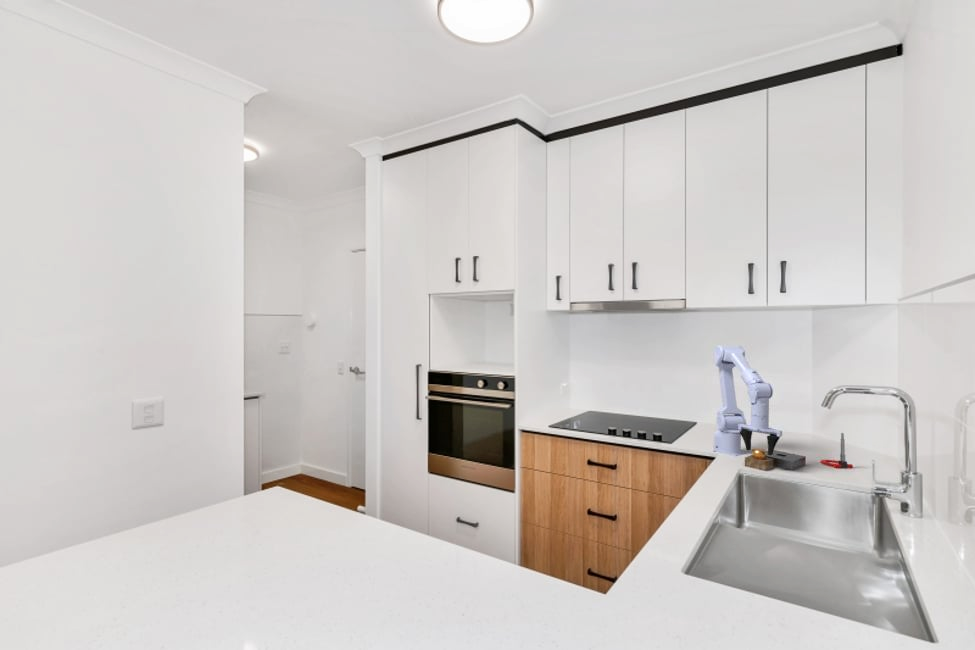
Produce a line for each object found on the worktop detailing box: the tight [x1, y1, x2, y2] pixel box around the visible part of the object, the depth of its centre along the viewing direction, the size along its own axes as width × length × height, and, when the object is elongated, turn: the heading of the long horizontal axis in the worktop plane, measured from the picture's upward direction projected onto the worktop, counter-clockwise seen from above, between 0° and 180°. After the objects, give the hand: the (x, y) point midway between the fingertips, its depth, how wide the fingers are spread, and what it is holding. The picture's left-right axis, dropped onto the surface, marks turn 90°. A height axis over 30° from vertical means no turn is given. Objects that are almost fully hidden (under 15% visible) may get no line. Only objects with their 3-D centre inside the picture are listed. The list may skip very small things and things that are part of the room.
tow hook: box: [820, 432, 854, 469], centre depth 181 cm, size 8×13×9 cm
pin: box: [751, 447, 767, 460], centre depth 176 cm, size 4×4×6 cm
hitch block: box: [766, 449, 807, 471], centre depth 180 cm, size 12×12×4 cm
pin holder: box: [744, 454, 774, 472], centre depth 176 cm, size 7×7×4 cm
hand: (759, 452), depth 176 cm, fingers open, 7 cm apart
